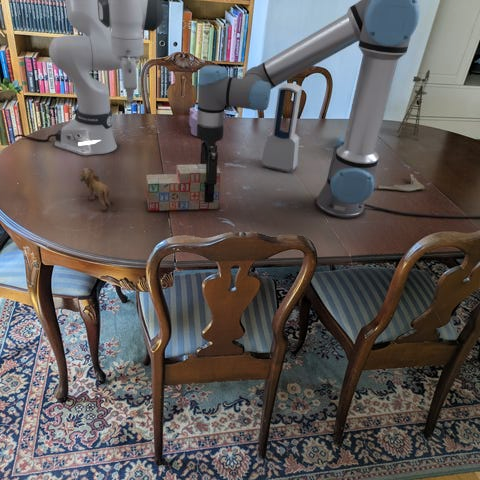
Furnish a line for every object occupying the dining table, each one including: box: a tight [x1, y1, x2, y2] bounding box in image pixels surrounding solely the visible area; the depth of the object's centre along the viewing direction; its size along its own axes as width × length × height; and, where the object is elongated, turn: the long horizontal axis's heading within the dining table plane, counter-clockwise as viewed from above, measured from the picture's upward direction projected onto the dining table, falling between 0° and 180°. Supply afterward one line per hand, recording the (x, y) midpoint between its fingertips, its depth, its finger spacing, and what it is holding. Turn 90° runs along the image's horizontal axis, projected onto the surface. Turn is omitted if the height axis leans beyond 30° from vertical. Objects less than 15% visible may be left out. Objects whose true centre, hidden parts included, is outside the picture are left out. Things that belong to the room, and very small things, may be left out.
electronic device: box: [260, 82, 303, 173], centre depth 167 cm, size 12×8×30 cm, turn 71°
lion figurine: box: [77, 167, 116, 211], centre depth 139 cm, size 15×5×9 cm, turn 50°
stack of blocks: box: [146, 163, 222, 212], centre depth 141 cm, size 21×6×12 cm, turn 104°
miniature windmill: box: [397, 69, 431, 140], centre depth 212 cm, size 9×8×30 cm
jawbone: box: [376, 173, 426, 193], centre depth 169 cm, size 9×20×2 cm, turn 126°
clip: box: [188, 107, 198, 137], centre depth 199 cm, size 20×12×7 cm, turn 23°
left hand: (129, 96), depth 139 cm, fingers open, 8 cm apart
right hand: (206, 196), depth 144 cm, fingers closed on stack of blocks, 6 cm apart
